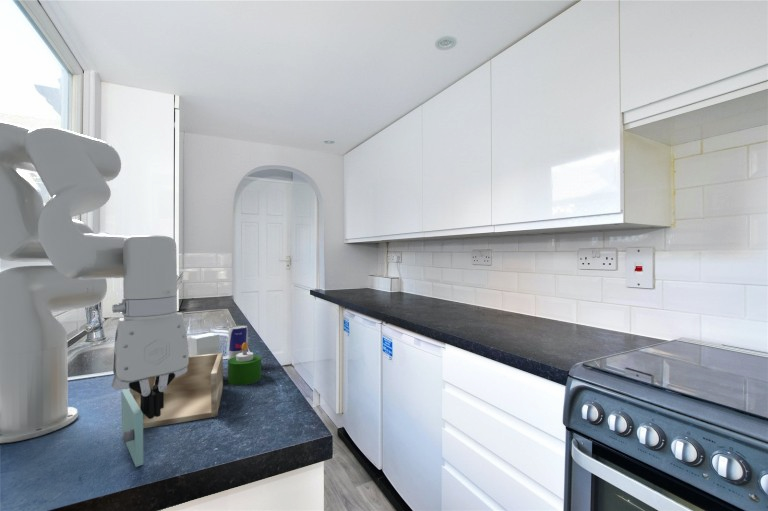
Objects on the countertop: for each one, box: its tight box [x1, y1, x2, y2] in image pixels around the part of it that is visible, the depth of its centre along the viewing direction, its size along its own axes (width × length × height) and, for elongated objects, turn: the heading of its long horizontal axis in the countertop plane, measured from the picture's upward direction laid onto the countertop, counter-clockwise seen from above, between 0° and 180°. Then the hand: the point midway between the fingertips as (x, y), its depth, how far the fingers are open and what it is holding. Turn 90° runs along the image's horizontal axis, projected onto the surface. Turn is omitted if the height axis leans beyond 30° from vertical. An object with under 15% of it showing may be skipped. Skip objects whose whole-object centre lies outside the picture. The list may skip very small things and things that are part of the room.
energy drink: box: [227, 324, 249, 360], centre depth 102 cm, size 5×5×12 cm
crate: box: [129, 352, 224, 429], centre depth 75 cm, size 15×16×9 cm
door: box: [120, 389, 144, 468], centre depth 58 cm, size 14×2×8 cm, turn 45°
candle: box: [227, 343, 262, 386], centre depth 92 cm, size 8×8×10 cm
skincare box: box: [189, 332, 221, 356], centre depth 92 cm, size 6×4×12 cm
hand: (152, 415), depth 58 cm, fingers closed
